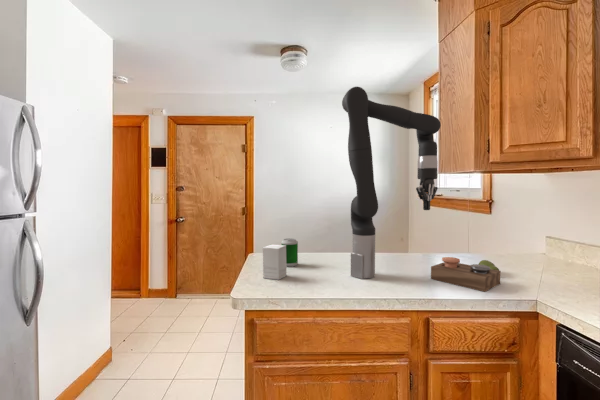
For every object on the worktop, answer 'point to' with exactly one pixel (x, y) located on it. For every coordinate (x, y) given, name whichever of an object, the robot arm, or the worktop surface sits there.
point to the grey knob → (480, 268)
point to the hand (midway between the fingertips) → (426, 210)
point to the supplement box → (274, 261)
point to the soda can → (291, 251)
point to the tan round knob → (451, 262)
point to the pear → (488, 264)
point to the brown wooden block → (465, 276)
